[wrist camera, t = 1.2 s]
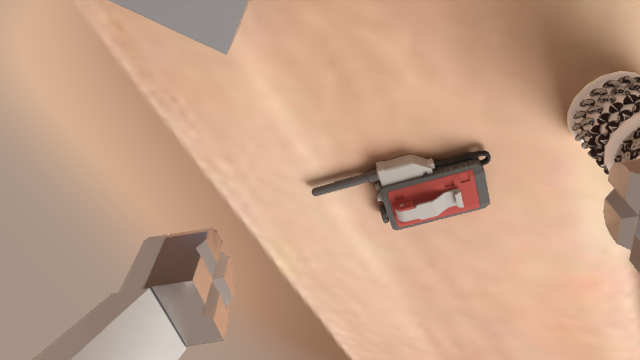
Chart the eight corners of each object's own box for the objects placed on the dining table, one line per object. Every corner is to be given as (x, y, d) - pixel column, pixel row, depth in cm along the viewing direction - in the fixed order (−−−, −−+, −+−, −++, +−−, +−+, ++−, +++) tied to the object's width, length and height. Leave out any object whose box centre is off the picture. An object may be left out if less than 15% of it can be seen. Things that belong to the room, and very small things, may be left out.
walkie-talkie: (483, 129, 50) (309, 178, 54) (495, 150, 47) (307, 201, 50) (494, 191, 55) (333, 233, 59) (505, 215, 51) (333, 257, 55)
